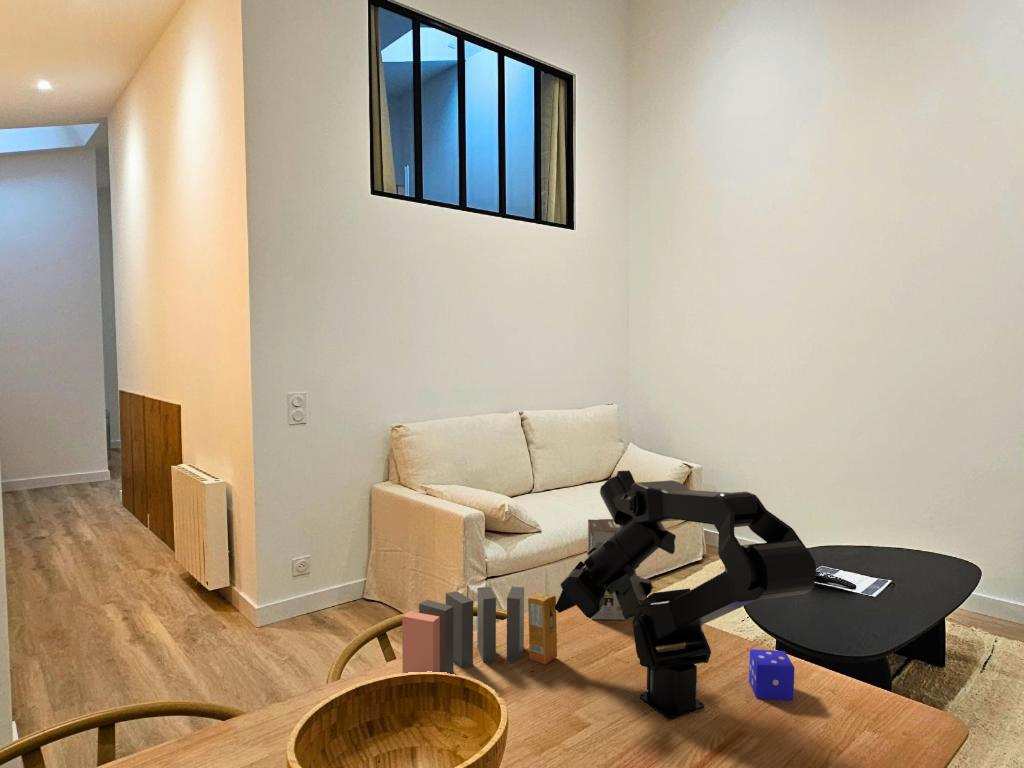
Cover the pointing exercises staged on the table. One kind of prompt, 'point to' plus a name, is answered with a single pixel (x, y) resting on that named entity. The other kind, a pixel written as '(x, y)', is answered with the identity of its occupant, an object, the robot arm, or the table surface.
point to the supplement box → (542, 628)
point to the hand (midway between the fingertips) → (557, 609)
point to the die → (771, 675)
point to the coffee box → (596, 533)
